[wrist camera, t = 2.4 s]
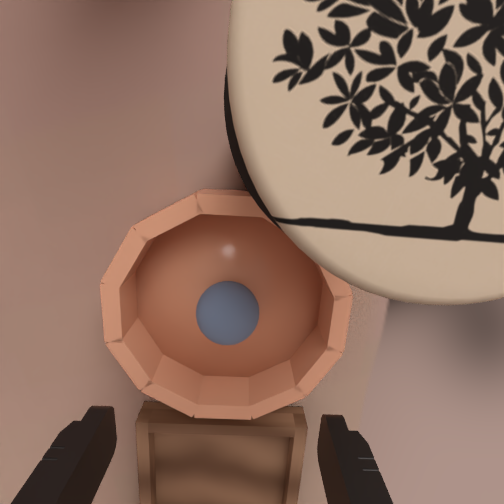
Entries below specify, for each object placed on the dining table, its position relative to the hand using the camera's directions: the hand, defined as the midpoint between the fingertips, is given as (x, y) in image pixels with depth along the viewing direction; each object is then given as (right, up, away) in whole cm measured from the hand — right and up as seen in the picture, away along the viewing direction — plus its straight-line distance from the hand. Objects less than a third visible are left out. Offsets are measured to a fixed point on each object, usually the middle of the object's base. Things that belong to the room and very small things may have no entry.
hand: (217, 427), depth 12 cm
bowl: (0, +3, +13) cm, 13 cm away
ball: (0, +3, +10) cm, 10 cm away
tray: (-2, -13, +18) cm, 22 cm away
